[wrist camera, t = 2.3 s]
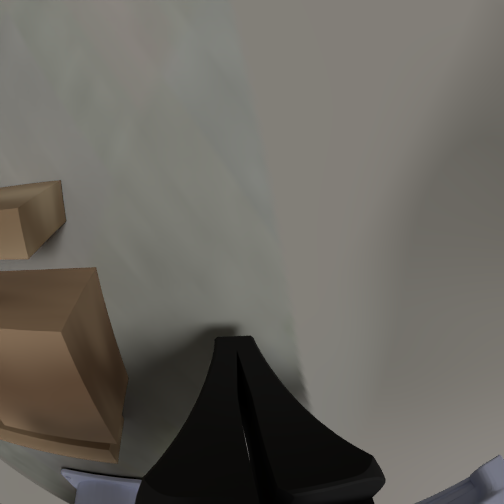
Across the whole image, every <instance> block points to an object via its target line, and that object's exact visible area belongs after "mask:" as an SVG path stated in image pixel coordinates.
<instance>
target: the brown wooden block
mask: <svg viewBox="0 0 504 504" xmlns="http://www.w3.org/2000/svg"><path fill="white" fill-rule="evenodd" d="M128 379H129V378H128V375H127V372H126V369H125V366H124V364H123V361H122V358H121V355H120V352H119V349H118V346H117V342H116V339H115V336H114V333H113V330H112V326H111V323H110V319H109V316H108V312H107V309H106V305H105V302H104V298H103V294H102V290H101V286H100V282H99V278H98V274H97V270H96V267H92V268H69V269H46V270H21V271H0V420H1V421H2V422H3V424H4V425H6V426H10V427H14V428H18V429H22V430H27V431H31V432H36V433H41V434H46V435H52V436H58V437H64V438H70V439H77V440H85V441H93V442H102V443H113V444H117V442H118V435H119V429H120V422H121V417H122V411H123V405H124V400H125V394H126V389H127V384H128Z"/></svg>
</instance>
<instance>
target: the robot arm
mask: <svg viewBox="0 0 504 504" xmlns="http://www.w3.org/2000/svg"><path fill="white" fill-rule="evenodd" d="M242 425H243V426H242ZM243 430H244V431H243ZM244 434H245V437H244ZM245 438H246V442H247V446H246V442H245ZM247 447H248V451H247ZM248 452H249V456H248ZM249 459H250V461H249ZM61 474H62V475H63V476H64V477H65V478H66V479H67V480H68V481H69V482H70V483H71V484H72V485H73V486H74V487H75V488H76V489H77V491H76V498H75V504H374V501H373V498H372V497H373V496H374V495H375V494H376V493H377V492H378V491H379V490H380V489H381V488H382V487H383V485H384V484H385V477H384V474H383V472H382V470H381V468H380V466H379V465H378V463H377V462H376V460H375V458H374V457H373V456H372V455H370V454H368V453H366V452H365V451H363V450H361V449H359V448H357V447H356V446H354V445H352V444H350V443H349V442H347V441H346V440H344V439H343V438H341V437H340V436H338V435H337V434H335V433H334V432H333V431H332V430H330V429H329V428H327V427H326V426H325V425H324V424H322V423H321V422H320V421H319V420H317V419H316V418H315V417H314V416H313V415H312V414H311V413H310V412H308V411H307V410H306V409H305V408H304V407H303V406H302V405H301V404H300V403H299V402H298V401H297V400H296V399H295V398H294V397H293V395H292V394H291V393H290V392H289V391H288V390H287V388H286V387H285V386H284V385H283V384H282V382H281V381H280V380H279V379H278V377H277V376H276V374H275V373H274V372H273V370H272V369H271V367H270V366H269V365H268V363H267V362H266V360H265V358H264V357H263V355H262V354H261V352H260V350H259V348H258V346H257V345H256V343H255V340H254V338H253V337H252V336H233V337H217V338H216V339H215V345H214V352H213V357H212V361H211V364H210V367H209V371H208V374H207V377H206V380H205V382H204V385H203V387H202V390H201V392H200V394H199V397H198V399H197V401H196V403H195V405H194V407H193V409H192V411H191V413H190V415H189V417H188V418H187V420H186V422H185V423H184V425H183V427H182V428H181V430H180V432H179V433H178V435H177V436H176V438H175V439H174V441H173V442H172V443H171V445H170V446H169V447H168V449H167V450H166V451H165V453H164V454H163V455H162V457H161V458H160V459H159V460H158V461H157V463H156V464H155V465H154V466H153V467H152V468H151V469H150V470H149V471H148V473H147V474H146V475H145V476H144V477H143V479H142V480H139V479H128V478H119V477H111V476H103V475H96V474H90V473H84V472H79V471H73V470H68V469H61ZM415 504H504V459H503V458H502V456H501V455H498V456H496V457H495V458H493V459H492V460H490V461H488V462H487V463H485V464H483V465H482V466H480V467H479V468H478V469H477V470H475V471H474V472H473V473H472V474H471V475H470V477H468V478H466V479H465V480H463V481H461V482H459V483H457V484H455V485H454V486H451V487H449V488H447V489H445V490H443V491H441V492H439V493H437V494H435V495H433V496H431V497H429V498H427V499H424V500H422V501H420V502H417V503H415Z"/></svg>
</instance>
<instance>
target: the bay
mask: <svg viewBox="0 0 504 504" xmlns="http://www.w3.org/2000/svg"><path fill="white" fill-rule="evenodd" d="M65 222H66V217H65V210H64V203H63V196H62V188H61V180H59V181H50V182H41V183H32V184H24V185H17V186H9V187H2V188H0V260H2V259H29V258H30V257H31V256H32V255H33V254H34V253H35V252H36V251H37V250H38V249H39V248H40V247H41V246H42V245H43V244H44V242H45V241H46V240H47V239H48V238H49V237H50V236H51V235H52V234H53V233H54V232H55V231H56V230H57V229H58V228H60V227H61V226H62V225H63V224H64V223H65ZM123 423H124V418H123V416H122V417H121V422H120V429H119V435H118V442H117V444H113V443H102V442H93V441H85V440H77V439H70V438H64V437H58V436H52V435H46V434H41V433H36V432H31V431H27V430H22V429H18V428H14V427H10V426H6V425H4V424H3V422H2V421H1V420H0V439H1V440H4V441H7V442H11V443H14V444H17V445H21V446H25V447H28V448H32V449H36V450H40V451H45V452H49V453H54V454H58V455H63V456H69V457H74V458H80V459H86V460H92V461H99V462H107V463H115V464H118V458H119V450H120V443H121V436H122V429H123Z"/></svg>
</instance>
